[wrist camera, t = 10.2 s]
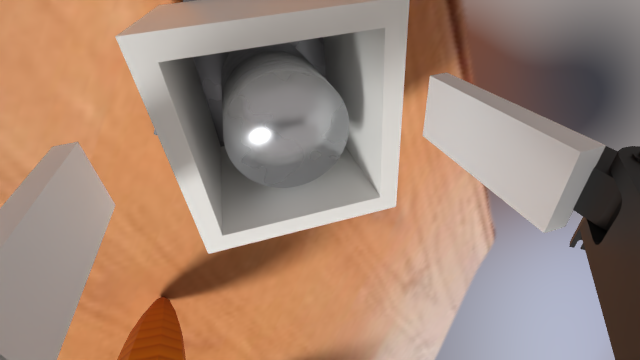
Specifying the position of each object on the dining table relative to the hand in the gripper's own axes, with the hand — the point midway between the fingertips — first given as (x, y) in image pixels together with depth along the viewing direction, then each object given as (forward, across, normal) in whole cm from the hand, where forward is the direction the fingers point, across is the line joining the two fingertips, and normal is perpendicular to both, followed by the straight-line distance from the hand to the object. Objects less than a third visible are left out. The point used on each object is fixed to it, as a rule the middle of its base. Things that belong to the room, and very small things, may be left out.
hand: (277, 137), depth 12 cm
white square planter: (+7, +1, 0) cm, 7 cm away
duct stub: (+8, +1, 0) cm, 8 cm away
